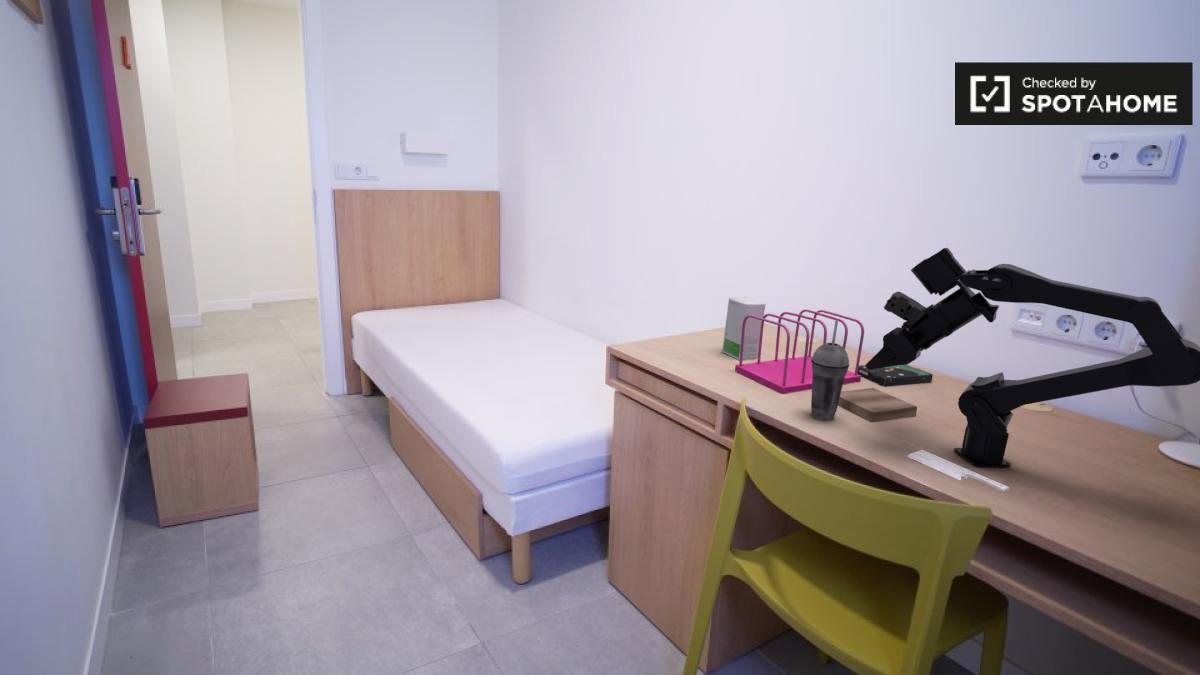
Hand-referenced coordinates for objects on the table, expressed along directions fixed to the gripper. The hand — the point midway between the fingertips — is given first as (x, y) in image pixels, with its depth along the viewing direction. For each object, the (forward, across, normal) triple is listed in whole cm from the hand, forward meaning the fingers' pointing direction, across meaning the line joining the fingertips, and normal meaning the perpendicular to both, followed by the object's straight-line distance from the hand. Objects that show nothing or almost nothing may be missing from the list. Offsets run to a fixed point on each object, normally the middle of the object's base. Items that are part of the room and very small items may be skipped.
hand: (874, 362), depth 117 cm
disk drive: (+13, -39, +7) cm, 41 cm away
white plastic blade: (-2, +10, +22) cm, 24 cm away
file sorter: (+26, -22, -6) cm, 34 cm away
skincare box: (+38, -28, -20) cm, 51 cm away
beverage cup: (+15, 0, +4) cm, 16 cm away
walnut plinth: (+11, -12, +8) cm, 18 cm away
